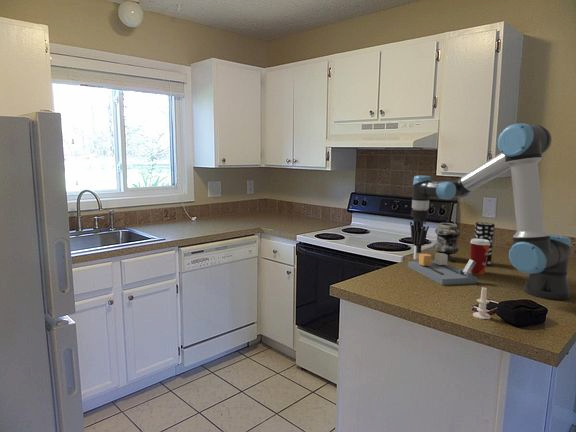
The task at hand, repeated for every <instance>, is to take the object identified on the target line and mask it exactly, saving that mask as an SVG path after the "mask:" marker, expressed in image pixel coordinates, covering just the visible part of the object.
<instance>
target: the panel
mask: <svg viewBox="0 0 576 432" xmlns="http://www.w3.org/2000/svg"><path fill="white" fill-rule="evenodd" d="M434 260H435V259H434ZM434 260H433V259H432V262H431V265H430V266H423V265H421V264H419V260H415V261H413V260H411V261H407V268H409V269H412V270H413V271H415V272H417V273H419V275H422V276H425V277H426V278H428V279H429V280H431V281H433V282H436V283H437V284H439V285H441V286H448V285H449V286H450V285H452V286H453V285H465V284H466V285H467V284H468V285H469V284H477V281H478V277H477V276H475V275H473V273H471V272H466V275H464V274H462V272H463V270H464V268H459V269H458V268H457V267H454V266H452V265H451V264H448V263H447V265H438V264H436V263H434Z"/></svg>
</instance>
